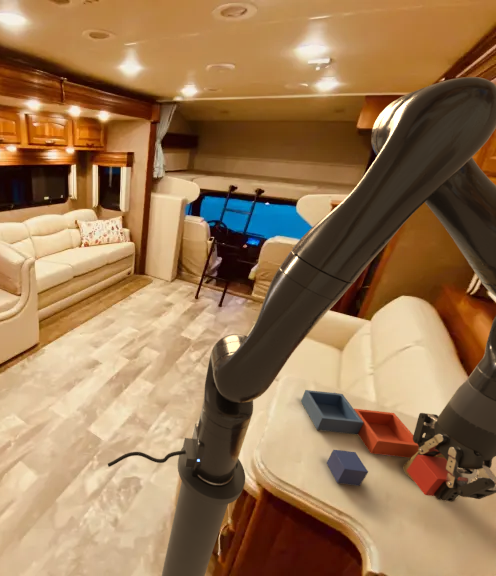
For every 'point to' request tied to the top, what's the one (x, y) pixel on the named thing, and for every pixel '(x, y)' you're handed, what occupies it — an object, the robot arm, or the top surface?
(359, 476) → the blue block
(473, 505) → the top surface
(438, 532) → the top surface
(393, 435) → the red bin
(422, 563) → the top surface
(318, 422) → the blue bin
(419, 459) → the red block
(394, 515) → the top surface
